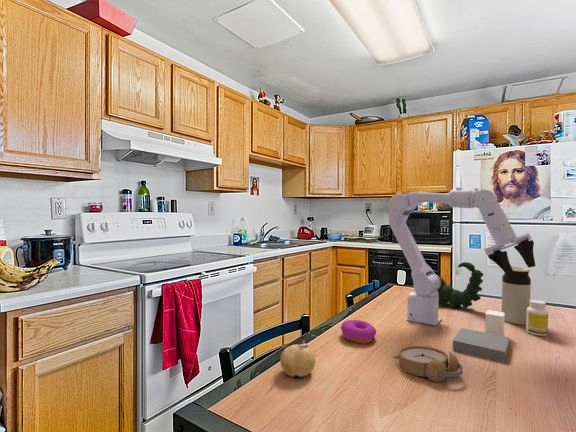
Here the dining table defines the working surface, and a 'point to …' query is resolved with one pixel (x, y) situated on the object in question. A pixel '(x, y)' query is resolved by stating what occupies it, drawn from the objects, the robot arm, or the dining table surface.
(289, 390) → the dining table surface
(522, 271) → the travel mug
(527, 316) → the supplement bottle
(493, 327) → the ivory block
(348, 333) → the donut
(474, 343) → the base block
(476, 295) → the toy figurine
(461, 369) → the alarm clock
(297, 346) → the onion
